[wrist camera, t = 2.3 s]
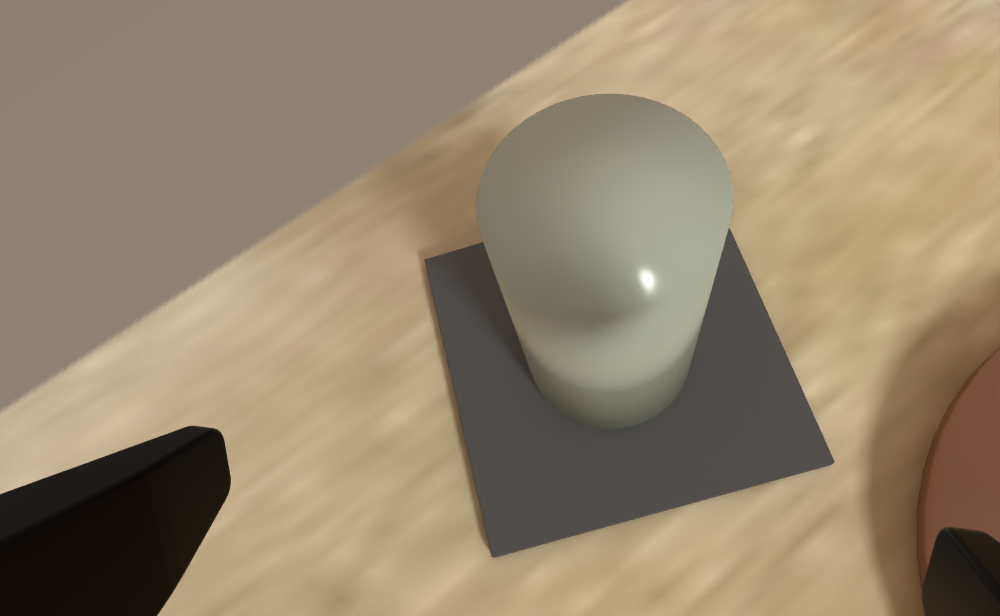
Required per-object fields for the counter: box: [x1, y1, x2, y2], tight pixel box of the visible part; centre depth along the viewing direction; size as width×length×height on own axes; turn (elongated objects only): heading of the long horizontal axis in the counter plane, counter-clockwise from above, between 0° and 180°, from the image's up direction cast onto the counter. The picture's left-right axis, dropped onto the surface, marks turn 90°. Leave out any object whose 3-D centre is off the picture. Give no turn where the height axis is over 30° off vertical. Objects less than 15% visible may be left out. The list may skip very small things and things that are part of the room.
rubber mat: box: [425, 228, 834, 558], centre depth 22 cm, size 10×10×1 cm
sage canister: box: [476, 94, 733, 429], centre depth 18 cm, size 5×5×9 cm
